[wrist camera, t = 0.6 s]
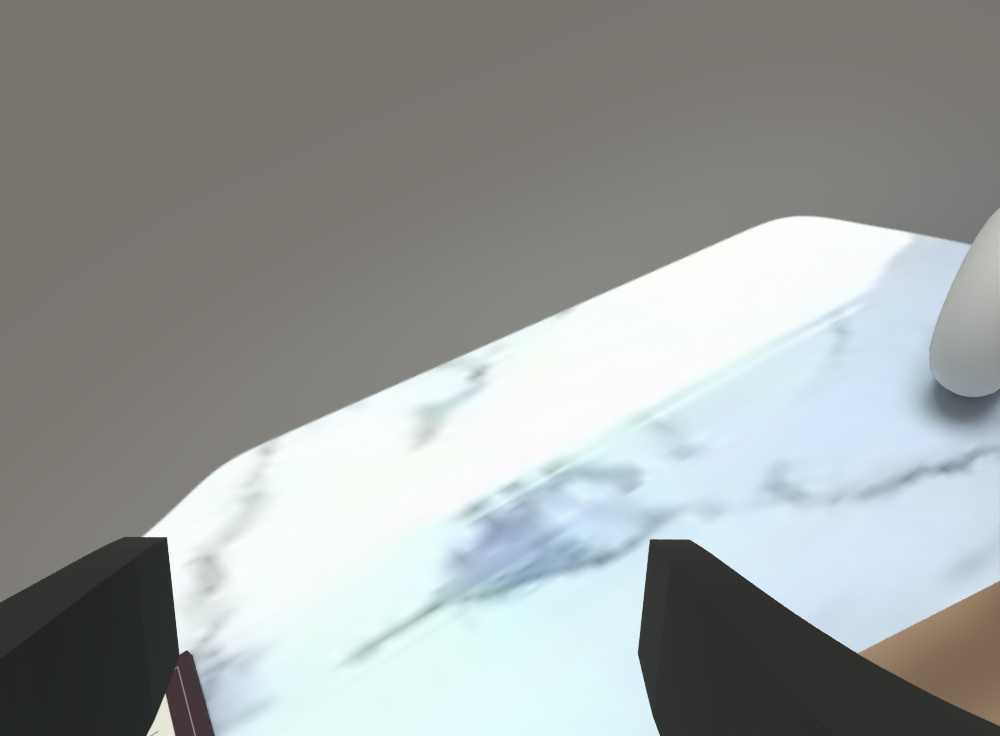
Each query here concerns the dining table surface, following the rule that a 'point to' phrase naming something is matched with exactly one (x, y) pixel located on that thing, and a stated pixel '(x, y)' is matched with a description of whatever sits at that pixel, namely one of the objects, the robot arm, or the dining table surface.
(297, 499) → the dining table surface
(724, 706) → the robot arm
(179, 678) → the chocolate bar
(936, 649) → the walnut block
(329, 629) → the dining table surface
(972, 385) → the donut
